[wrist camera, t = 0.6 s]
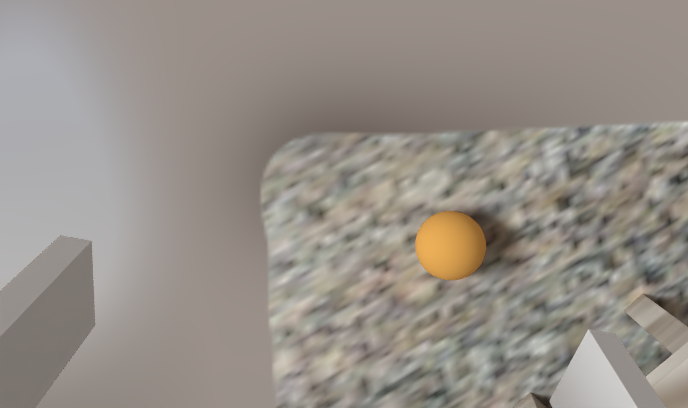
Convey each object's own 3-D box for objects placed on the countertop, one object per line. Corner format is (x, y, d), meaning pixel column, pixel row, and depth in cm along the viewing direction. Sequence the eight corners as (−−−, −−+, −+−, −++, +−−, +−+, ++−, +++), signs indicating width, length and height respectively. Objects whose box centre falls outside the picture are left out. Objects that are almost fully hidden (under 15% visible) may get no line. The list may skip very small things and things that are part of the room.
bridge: (670, 318, 40) (743, 373, 31) (539, 430, 43) (570, 510, 34) (642, 293, 40) (707, 341, 31) (513, 407, 43) (538, 481, 34)
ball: (495, 236, 41) (506, 252, 35) (449, 282, 42) (454, 304, 37) (446, 192, 41) (450, 202, 36) (402, 239, 42) (399, 255, 37)
